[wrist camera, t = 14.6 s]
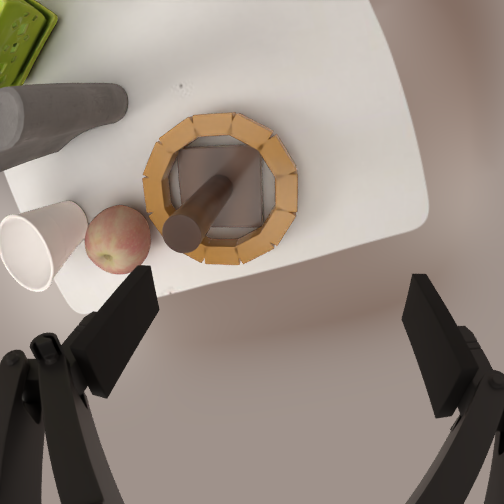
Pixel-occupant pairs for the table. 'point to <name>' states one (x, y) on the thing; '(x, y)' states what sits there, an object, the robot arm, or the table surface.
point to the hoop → (250, 135)
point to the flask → (53, 117)
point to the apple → (118, 239)
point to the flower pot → (22, 38)
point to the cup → (41, 242)
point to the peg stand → (215, 193)
